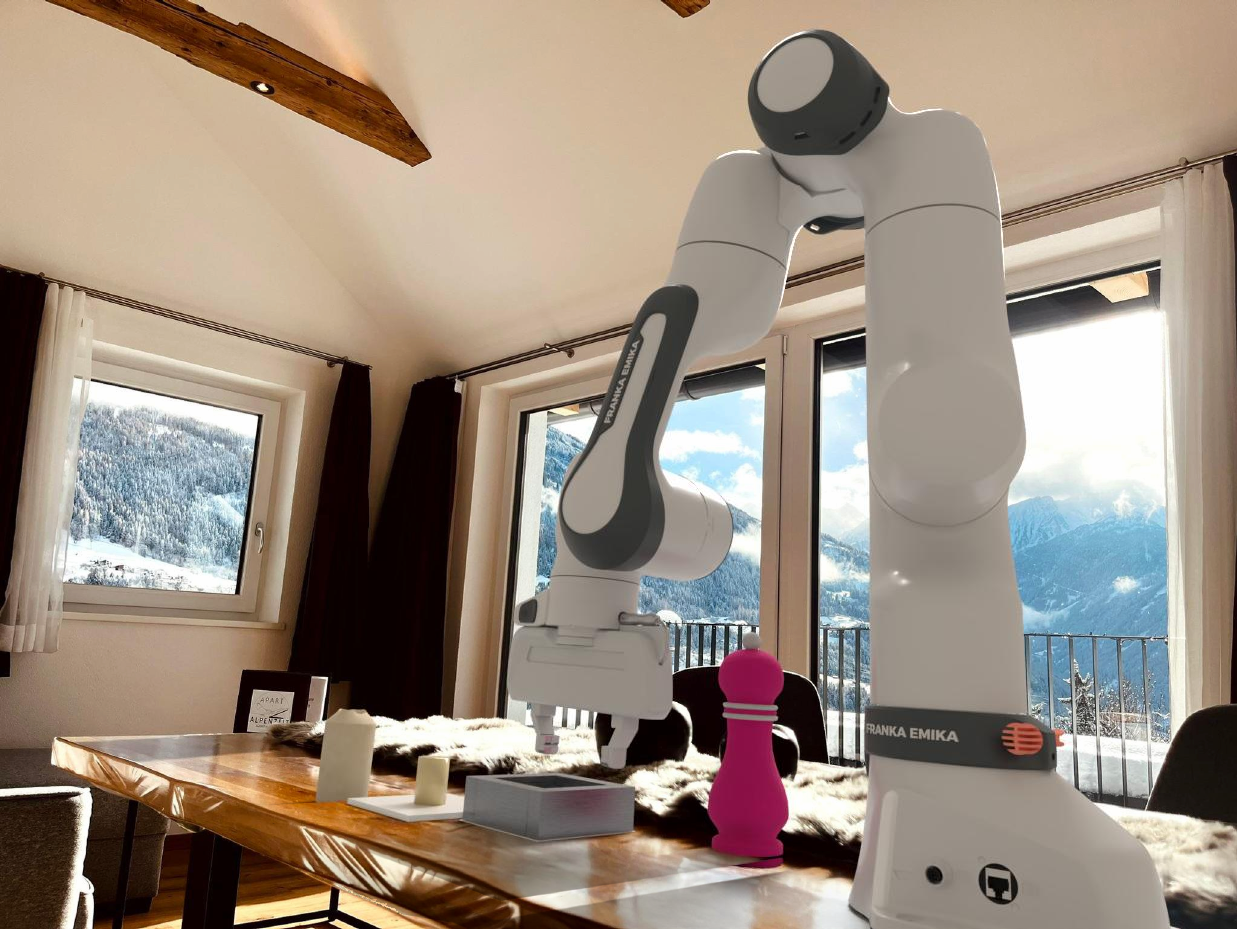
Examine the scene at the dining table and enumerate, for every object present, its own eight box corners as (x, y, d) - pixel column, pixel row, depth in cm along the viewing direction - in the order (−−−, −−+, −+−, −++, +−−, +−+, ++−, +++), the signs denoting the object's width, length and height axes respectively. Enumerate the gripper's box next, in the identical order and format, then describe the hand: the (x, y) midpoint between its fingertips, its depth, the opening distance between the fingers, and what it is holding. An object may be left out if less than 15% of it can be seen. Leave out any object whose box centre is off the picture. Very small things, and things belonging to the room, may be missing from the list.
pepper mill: (693, 861, 77) (701, 628, 82) (723, 849, 84) (729, 633, 88) (773, 874, 74) (777, 630, 79) (798, 861, 80) (800, 635, 85)
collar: (632, 831, 85) (635, 786, 86) (537, 840, 77) (541, 791, 78) (555, 812, 93) (558, 772, 94) (462, 819, 85) (466, 776, 86)
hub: (510, 824, 91) (515, 762, 92) (407, 832, 83) (414, 765, 84) (445, 807, 99) (451, 750, 101) (346, 813, 91) (353, 752, 93)
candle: (347, 808, 95) (359, 711, 97) (304, 803, 97) (316, 707, 99) (376, 802, 100) (387, 710, 102) (335, 797, 102) (346, 707, 104)
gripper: (693, 617, 81) (682, 776, 78) (551, 613, 96) (537, 747, 93) (645, 610, 77) (631, 777, 74) (504, 607, 92) (487, 746, 89)
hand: (577, 760), depth 84 cm, fingers open, 8 cm apart
